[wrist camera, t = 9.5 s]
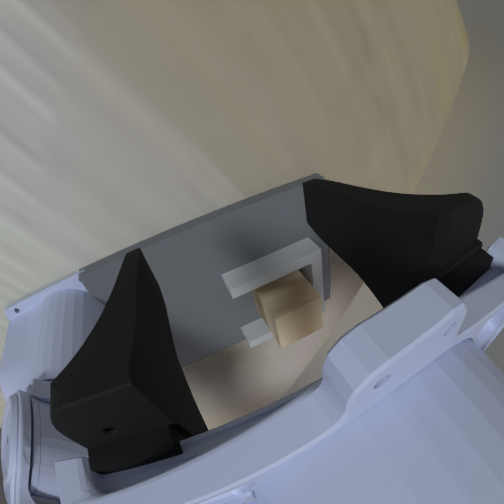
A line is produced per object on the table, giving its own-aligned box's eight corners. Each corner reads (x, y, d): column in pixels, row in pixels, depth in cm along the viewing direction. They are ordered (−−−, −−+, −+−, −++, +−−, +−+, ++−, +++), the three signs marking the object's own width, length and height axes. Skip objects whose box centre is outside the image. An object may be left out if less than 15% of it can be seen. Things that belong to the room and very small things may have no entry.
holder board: (153, 369, 29) (159, 392, 26) (79, 269, 20) (76, 294, 18) (324, 291, 33) (340, 309, 30) (316, 173, 24) (338, 186, 22)
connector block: (257, 309, 28) (281, 348, 24) (248, 279, 26) (275, 319, 22) (295, 292, 29) (322, 327, 25) (290, 261, 26) (321, 296, 23)
